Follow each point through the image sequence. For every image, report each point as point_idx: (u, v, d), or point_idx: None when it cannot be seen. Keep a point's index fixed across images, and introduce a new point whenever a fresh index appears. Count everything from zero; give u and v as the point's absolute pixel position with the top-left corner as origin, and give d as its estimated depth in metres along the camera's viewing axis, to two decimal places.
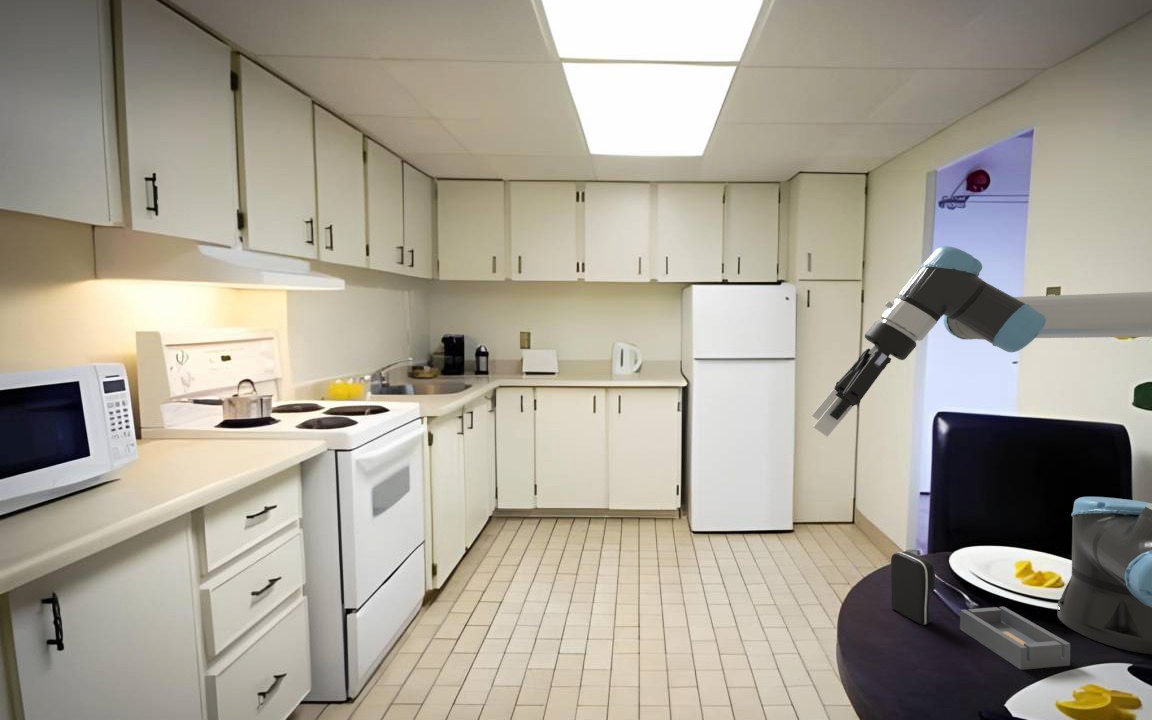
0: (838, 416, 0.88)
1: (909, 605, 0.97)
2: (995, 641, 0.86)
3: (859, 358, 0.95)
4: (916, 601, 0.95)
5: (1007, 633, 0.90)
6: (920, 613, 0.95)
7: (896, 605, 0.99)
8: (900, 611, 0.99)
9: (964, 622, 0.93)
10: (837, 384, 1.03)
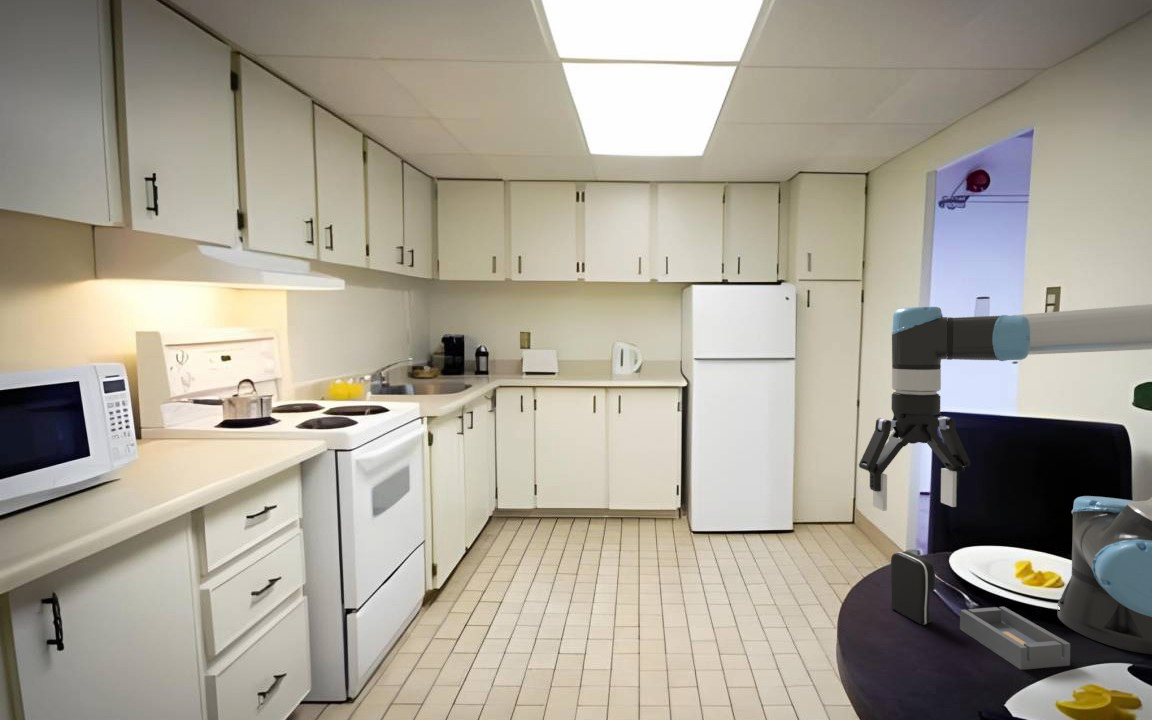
0: (873, 487, 0.96)
1: (909, 605, 0.97)
2: (995, 641, 0.86)
3: None
4: (916, 601, 0.95)
5: (1007, 633, 0.90)
6: (920, 613, 0.95)
7: (896, 605, 0.99)
8: (900, 611, 0.99)
9: (964, 622, 0.93)
10: None
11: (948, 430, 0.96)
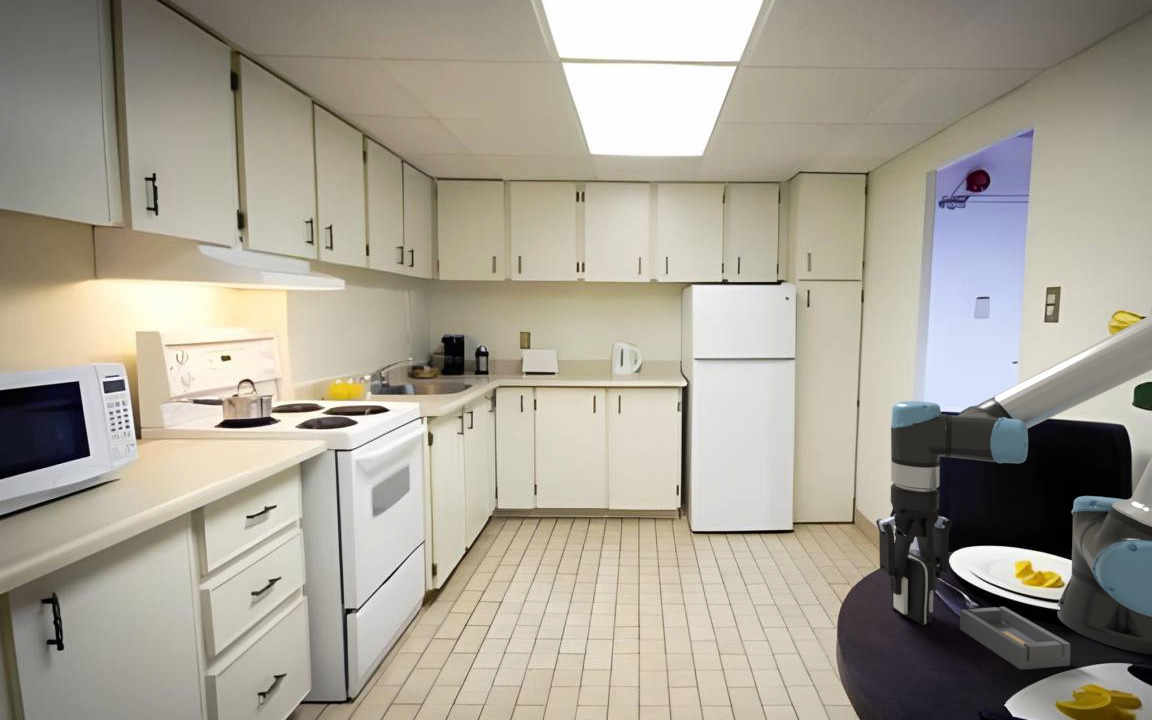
0: (894, 591, 0.97)
1: (909, 605, 0.97)
2: (995, 641, 0.86)
3: None
4: (915, 601, 0.95)
5: (1007, 633, 0.90)
6: (920, 613, 0.95)
7: None
8: None
9: (964, 622, 0.93)
10: None
11: (942, 530, 0.97)
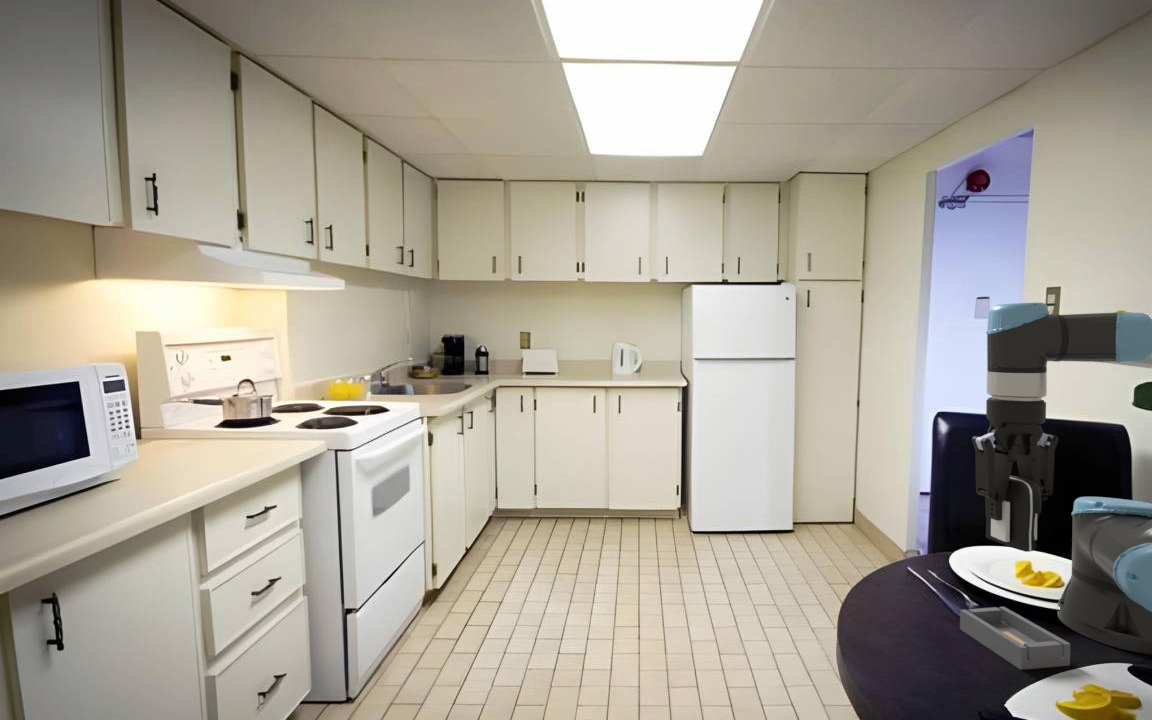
0: (994, 516, 0.86)
1: None
2: (995, 641, 0.86)
3: None
4: (1018, 526, 0.85)
5: (1007, 633, 0.90)
6: (1024, 539, 0.84)
7: None
8: (998, 540, 0.88)
9: (964, 622, 0.93)
10: None
11: (1047, 447, 0.86)
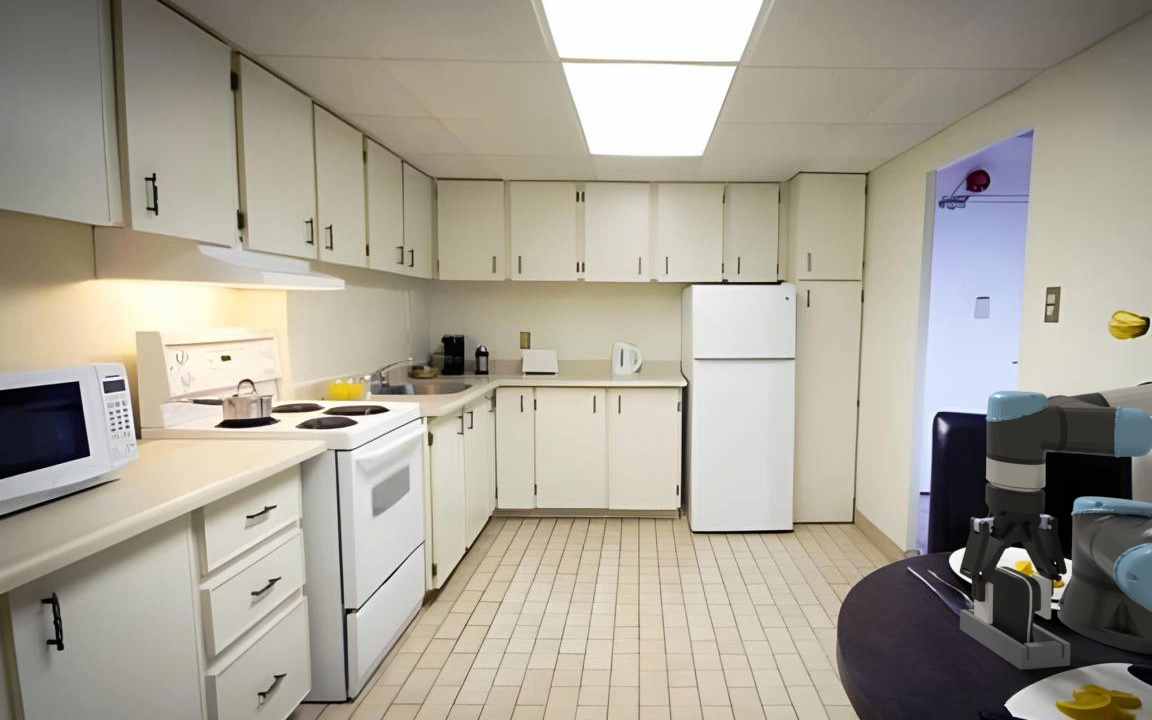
0: (977, 597, 0.87)
1: (1008, 626, 0.87)
2: (995, 641, 0.86)
3: None
4: (1017, 622, 0.86)
5: None
6: (1022, 636, 0.85)
7: (992, 625, 0.90)
8: None
9: (964, 622, 0.93)
10: None
11: (1049, 530, 0.87)
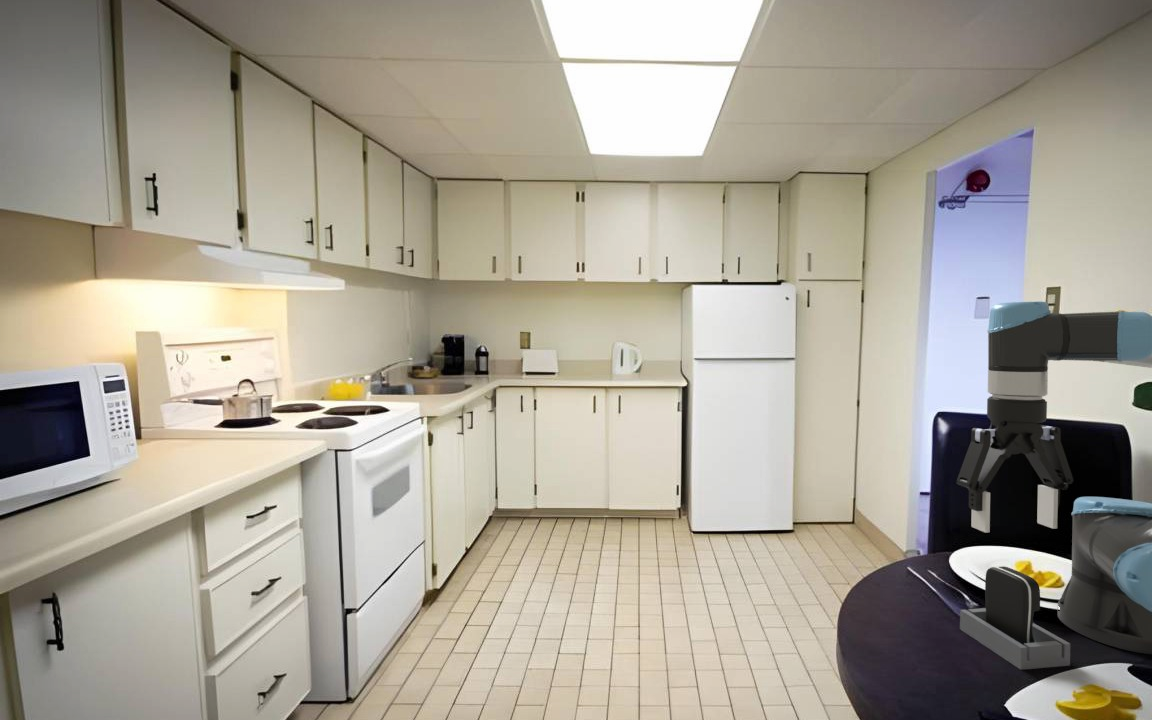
0: (974, 506, 0.86)
1: (1008, 626, 0.87)
2: (995, 641, 0.86)
3: None
4: (1016, 622, 0.86)
5: None
6: (1022, 636, 0.85)
7: (992, 625, 0.90)
8: None
9: (964, 622, 0.93)
10: None
11: (1052, 441, 0.86)
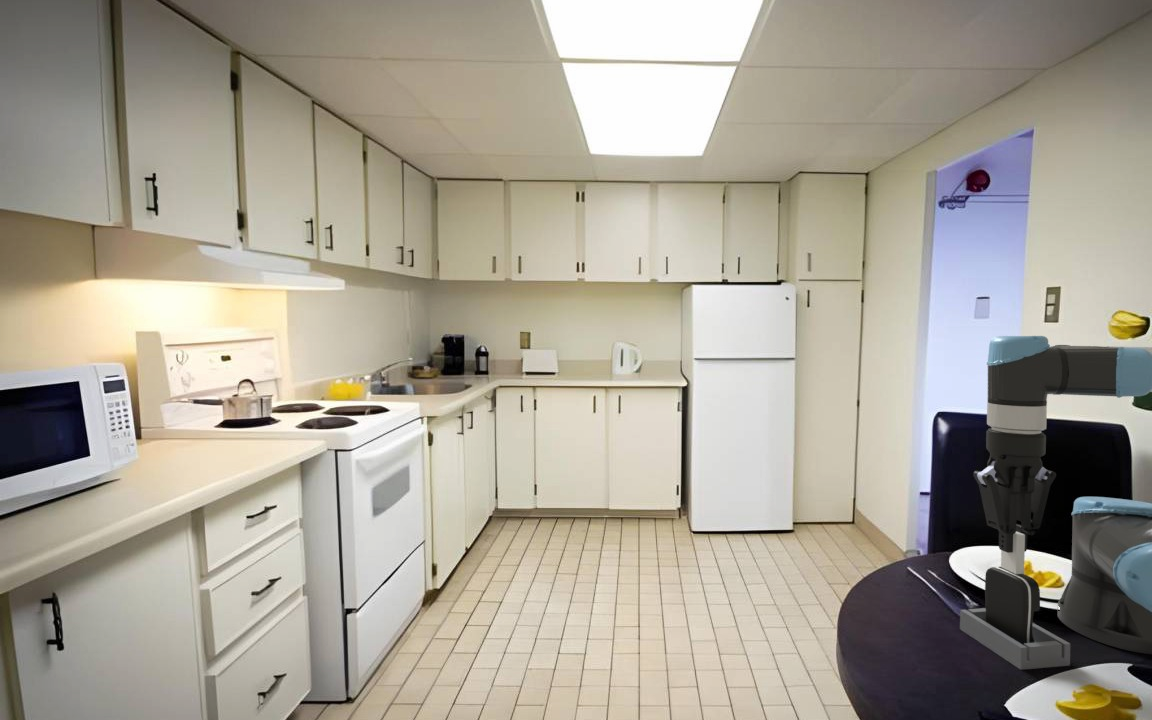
0: (1005, 548, 0.87)
1: (1008, 626, 0.87)
2: (995, 641, 0.86)
3: None
4: (1016, 622, 0.86)
5: None
6: (1022, 636, 0.85)
7: (992, 625, 0.90)
8: None
9: (964, 622, 0.93)
10: None
11: (1043, 481, 0.87)
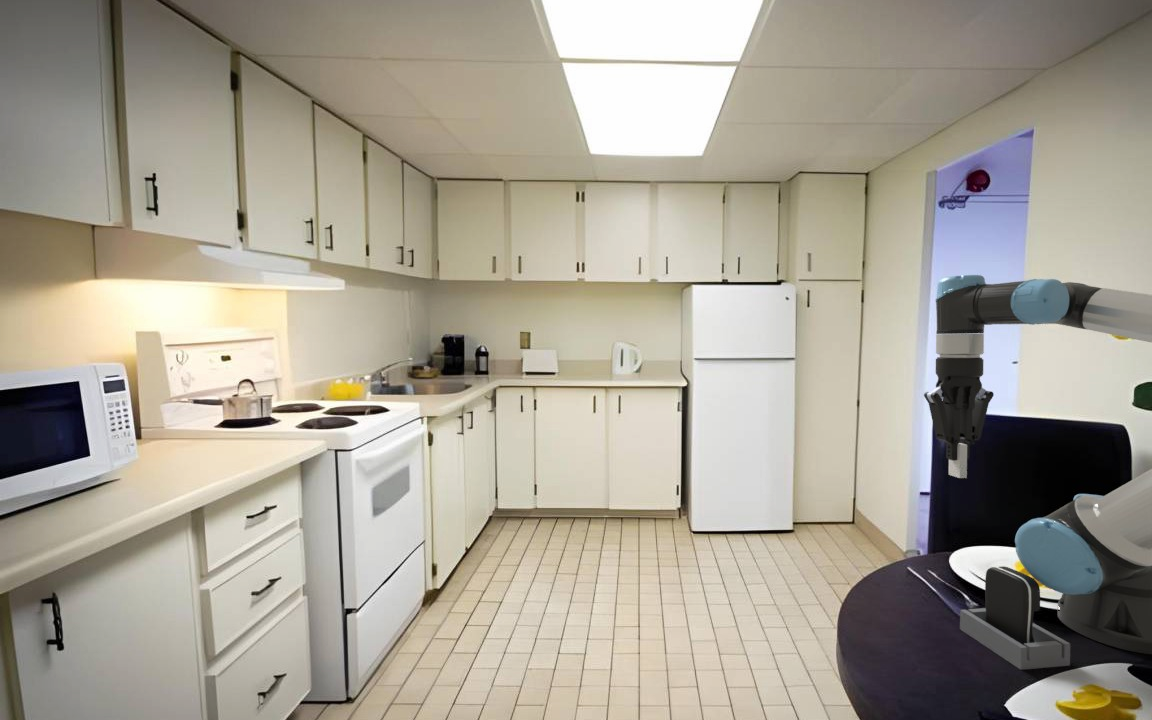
0: (950, 456, 1.03)
1: (1008, 626, 0.87)
2: (995, 641, 0.86)
3: None
4: (1016, 622, 0.86)
5: None
6: (1022, 636, 0.85)
7: (992, 625, 0.90)
8: None
9: (964, 622, 0.93)
10: None
11: (982, 400, 1.02)
